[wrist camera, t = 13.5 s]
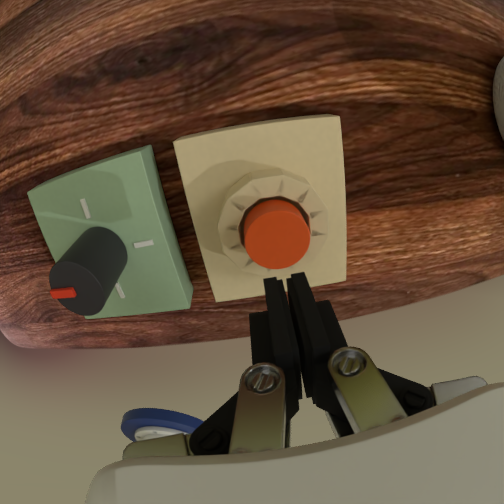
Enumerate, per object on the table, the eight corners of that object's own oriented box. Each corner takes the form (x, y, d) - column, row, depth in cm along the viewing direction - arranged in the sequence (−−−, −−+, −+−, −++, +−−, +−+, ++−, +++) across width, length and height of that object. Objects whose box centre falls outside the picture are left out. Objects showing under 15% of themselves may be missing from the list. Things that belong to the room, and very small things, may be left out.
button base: (337, 265, 23) (353, 295, 20) (217, 285, 23) (214, 318, 20) (329, 113, 17) (350, 117, 14) (179, 137, 18) (165, 146, 14)
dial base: (193, 289, 24) (189, 310, 21) (95, 301, 24) (85, 320, 22) (151, 144, 18) (139, 151, 15) (44, 182, 18) (25, 193, 16)
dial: (117, 221, 18) (86, 260, 13) (135, 272, 19) (113, 318, 15) (71, 231, 18) (37, 268, 13) (90, 277, 20) (64, 320, 15)
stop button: (306, 249, 18) (312, 264, 16) (249, 258, 18) (250, 274, 17) (301, 195, 16) (308, 205, 15) (238, 204, 16) (238, 216, 15)
